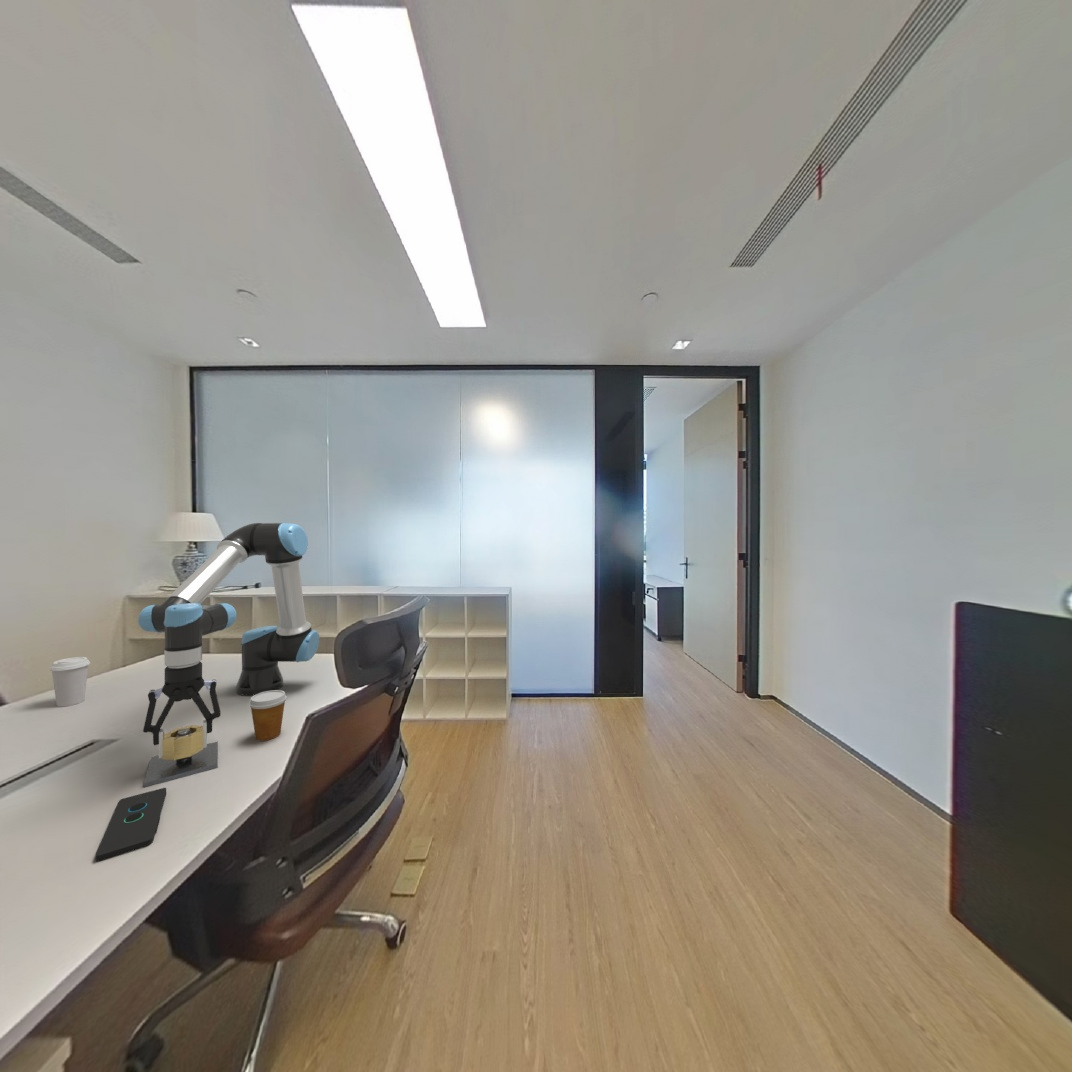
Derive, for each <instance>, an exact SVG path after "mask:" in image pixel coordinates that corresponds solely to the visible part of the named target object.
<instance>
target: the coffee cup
mask: <svg viewBox="0 0 1072 1072" xmlns="http://www.w3.org/2000/svg"><path fill="white" fill-rule="evenodd" d="M89 665H91V661H90V660H89V659H88V657H86V656H76V657H75V656H74V657H69V658H68V657H67V658H62V659H59V660H56V661H53V663H52V665H51V666H50V667H49V671H51V675H52V682H53V689H54V694H55V695H54V696H55V702H56V707H58V708H61V707H62V708H63V707H70V706H74V705H75V706H76V705H79V704H81V703H83V702H85V700H86V699H85V698H86V688H87V681H88V672H89Z"/></svg>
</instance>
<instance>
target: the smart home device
mask: <svg viewBox="0 0 1072 1072" xmlns="http://www.w3.org/2000/svg"><path fill="white" fill-rule="evenodd" d="M166 797H167V787H162V788H158V789H155V790H151V791H146V792H142V793H138V794H135V795H131V796H128V797H123V798H121V799H119V800H118V802H117V804H116V806H115V809H114V812H113V813H112V816H111V818H110V820H109V822H108V825H107V827H106V830H105V832H104V835H103V836H102V839H101V840H100V843H99V845H98V847H97V850H96V852H95V862H96V863H97V862H101V861H104V860H108V859H111V858H114V857H117V856H121V855H123V854H126V853H129V852H133V851H136V850H139V849H141V848H142V849H143V848H145V847H149V846H150V845H152V844H153V843H154V841H155V837H156V834H157V832H158V829H159V825H160V820H161V815H162V811H163V809H164V805H165V800H166Z"/></svg>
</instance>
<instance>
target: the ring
mask: <svg viewBox="0 0 1072 1072" xmlns="http://www.w3.org/2000/svg"><path fill="white" fill-rule="evenodd" d="M183 729H190V731H192V734H190V735H187V736H183V737H178V738H176V735H177V734H178V731H180V730H183ZM201 750H203V725H197V724H192V725H186V726H182V727H177V728H174V729H173V730H170V731H168V732H166V733H164V737H163V759H166V760H177V759H181V758H185V757H190V756H192V755H194V754H196V753H198V752H199V751H201Z"/></svg>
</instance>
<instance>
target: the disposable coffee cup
mask: <svg viewBox="0 0 1072 1072" xmlns="http://www.w3.org/2000/svg"><path fill="white" fill-rule="evenodd" d="M287 698H288V696H287V694H286V692H285V691H284V690H281V689H277V690H272V691H266V692H262V693H259V694H256V695H252V696H251V697H250V701H249V702H248V706H249V707H250V710H251V717H252V722H253V723H252V724H253V730H254V736H255V737H254V738H255V740H256V741H269V740H272V739H275V738H277V737H279V736H280V735H281V734H282V733H281V732H282V723H283V719H284V718H283V717H284V716H283V715H284V712H285V711H284V710H285V703H286V700H287Z"/></svg>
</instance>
